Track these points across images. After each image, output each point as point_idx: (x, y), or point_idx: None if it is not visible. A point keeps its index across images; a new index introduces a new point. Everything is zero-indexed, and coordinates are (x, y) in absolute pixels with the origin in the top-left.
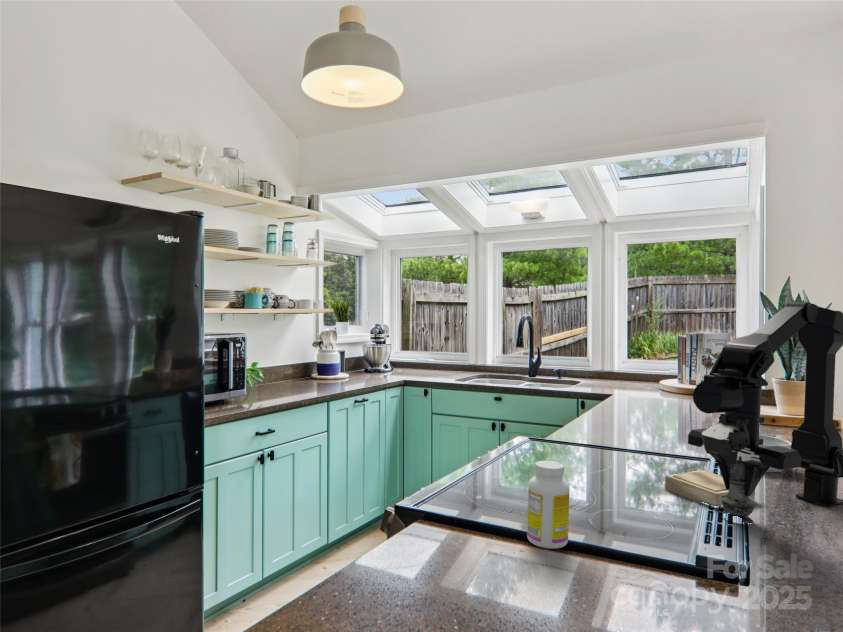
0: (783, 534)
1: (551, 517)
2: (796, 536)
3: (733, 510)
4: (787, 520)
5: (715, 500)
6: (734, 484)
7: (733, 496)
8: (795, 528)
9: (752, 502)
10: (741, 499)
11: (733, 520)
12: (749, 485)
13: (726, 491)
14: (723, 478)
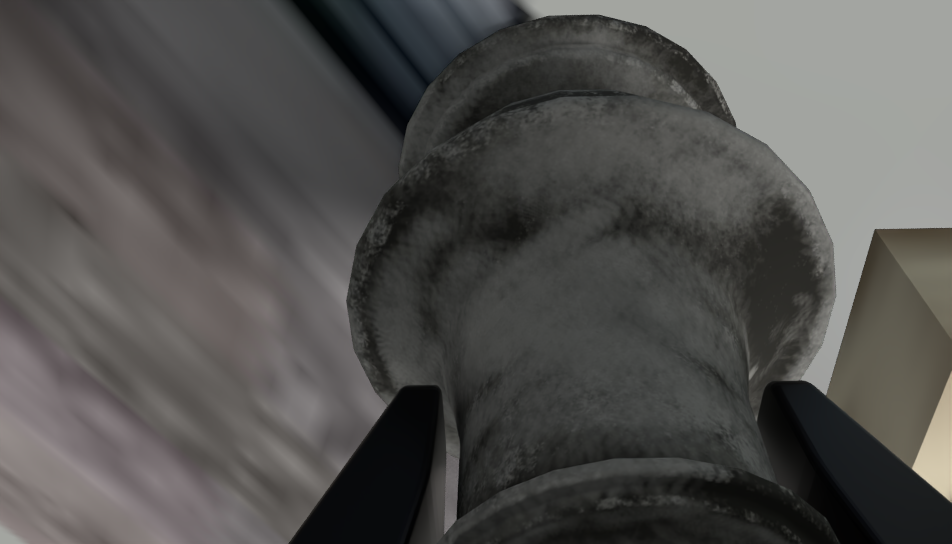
0: (112, 258)
1: None
2: (56, 321)
3: (519, 102)
4: None
5: (931, 290)
6: (610, 437)
7: (585, 262)
8: (220, 456)
9: None
10: (470, 295)
11: None
12: (296, 539)
13: None
14: (940, 510)
